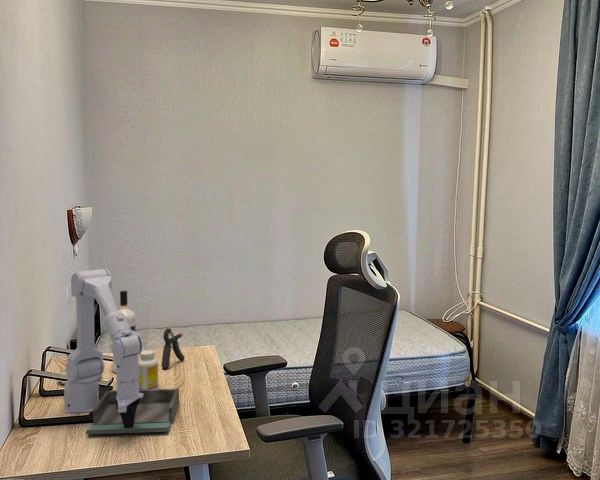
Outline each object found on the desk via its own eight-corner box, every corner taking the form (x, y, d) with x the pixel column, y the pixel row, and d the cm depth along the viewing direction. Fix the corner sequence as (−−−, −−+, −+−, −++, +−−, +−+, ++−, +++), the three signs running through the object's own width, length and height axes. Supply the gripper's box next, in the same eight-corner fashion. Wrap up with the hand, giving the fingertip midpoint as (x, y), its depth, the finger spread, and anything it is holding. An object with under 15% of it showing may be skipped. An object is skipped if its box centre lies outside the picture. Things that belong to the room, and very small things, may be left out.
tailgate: (92, 429, 149) (86, 434, 144) (92, 425, 149) (86, 430, 144) (170, 426, 151) (167, 431, 146) (170, 422, 151) (167, 427, 146)
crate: (92, 427, 150) (92, 410, 150) (106, 406, 165) (106, 390, 165) (172, 424, 153) (172, 407, 152) (179, 404, 167) (178, 388, 167)
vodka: (127, 376, 192) (125, 294, 190) (106, 372, 196) (104, 292, 193) (143, 368, 201) (141, 289, 198) (123, 365, 204) (121, 287, 202)
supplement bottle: (161, 386, 183) (160, 349, 181) (154, 393, 176) (153, 355, 175) (142, 385, 183) (141, 348, 182) (134, 392, 177) (133, 354, 176)
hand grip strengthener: (185, 360, 210) (185, 323, 209) (166, 370, 199) (165, 331, 197) (180, 360, 211) (180, 322, 210) (161, 369, 200) (160, 330, 198)
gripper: (137, 388, 138) (138, 438, 140) (147, 369, 153) (148, 415, 154) (109, 389, 138) (110, 439, 139) (122, 370, 152) (123, 416, 153)
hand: (128, 427), depth 146 cm, fingers closed
